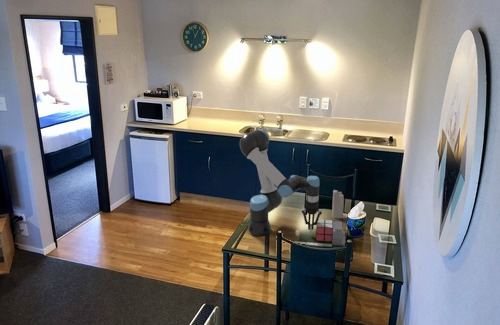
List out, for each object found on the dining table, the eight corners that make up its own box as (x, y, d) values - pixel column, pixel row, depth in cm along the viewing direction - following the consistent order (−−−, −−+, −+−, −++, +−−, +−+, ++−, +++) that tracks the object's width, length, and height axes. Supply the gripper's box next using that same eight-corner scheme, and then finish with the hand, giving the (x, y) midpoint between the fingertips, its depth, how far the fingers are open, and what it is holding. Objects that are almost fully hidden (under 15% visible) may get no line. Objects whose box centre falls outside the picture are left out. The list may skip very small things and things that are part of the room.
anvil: (332, 244, 244) (333, 231, 241) (331, 231, 259) (332, 219, 256) (345, 246, 243) (346, 232, 240) (344, 232, 258) (345, 220, 254)
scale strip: (293, 243, 247) (293, 243, 246) (293, 241, 249) (293, 241, 249) (331, 246, 242) (331, 246, 242) (331, 244, 245) (331, 244, 244)
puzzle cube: (332, 242, 248) (333, 228, 244) (315, 240, 249) (316, 226, 246) (332, 233, 257) (332, 220, 253) (316, 232, 258) (316, 219, 255)
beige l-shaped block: (353, 218, 275) (355, 192, 268) (332, 218, 275) (334, 192, 268) (350, 213, 282) (352, 187, 275) (331, 213, 282) (332, 187, 275)
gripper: (301, 202, 243) (300, 235, 251) (322, 203, 241) (320, 237, 249) (302, 197, 250) (300, 230, 258) (322, 198, 248) (320, 231, 256)
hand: (310, 233), depth 254 cm, fingers closed
